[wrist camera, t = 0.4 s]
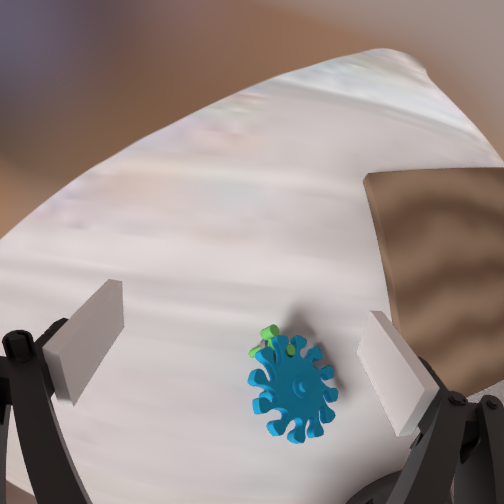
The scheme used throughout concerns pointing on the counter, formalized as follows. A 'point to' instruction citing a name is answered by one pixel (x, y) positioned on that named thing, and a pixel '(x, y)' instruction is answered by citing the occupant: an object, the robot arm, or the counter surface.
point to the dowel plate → (445, 267)
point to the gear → (292, 385)
